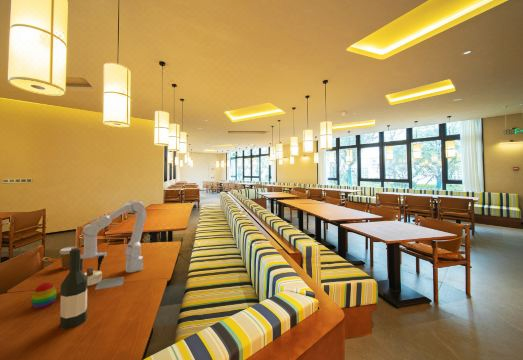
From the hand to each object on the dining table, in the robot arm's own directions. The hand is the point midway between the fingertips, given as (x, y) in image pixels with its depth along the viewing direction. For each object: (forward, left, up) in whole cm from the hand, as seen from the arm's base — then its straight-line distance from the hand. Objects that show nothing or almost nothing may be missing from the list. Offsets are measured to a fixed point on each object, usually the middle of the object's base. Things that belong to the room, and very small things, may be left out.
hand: (90, 271), depth 122 cm
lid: (0, 0, -3) cm, 3 cm away
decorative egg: (+14, +16, -7) cm, 22 cm away
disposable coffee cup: (+16, -32, -7) cm, 36 cm away
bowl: (0, 0, -7) cm, 7 cm away
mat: (-10, +6, -7) cm, 13 cm away
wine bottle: (-1, +37, -7) cm, 38 cm away
